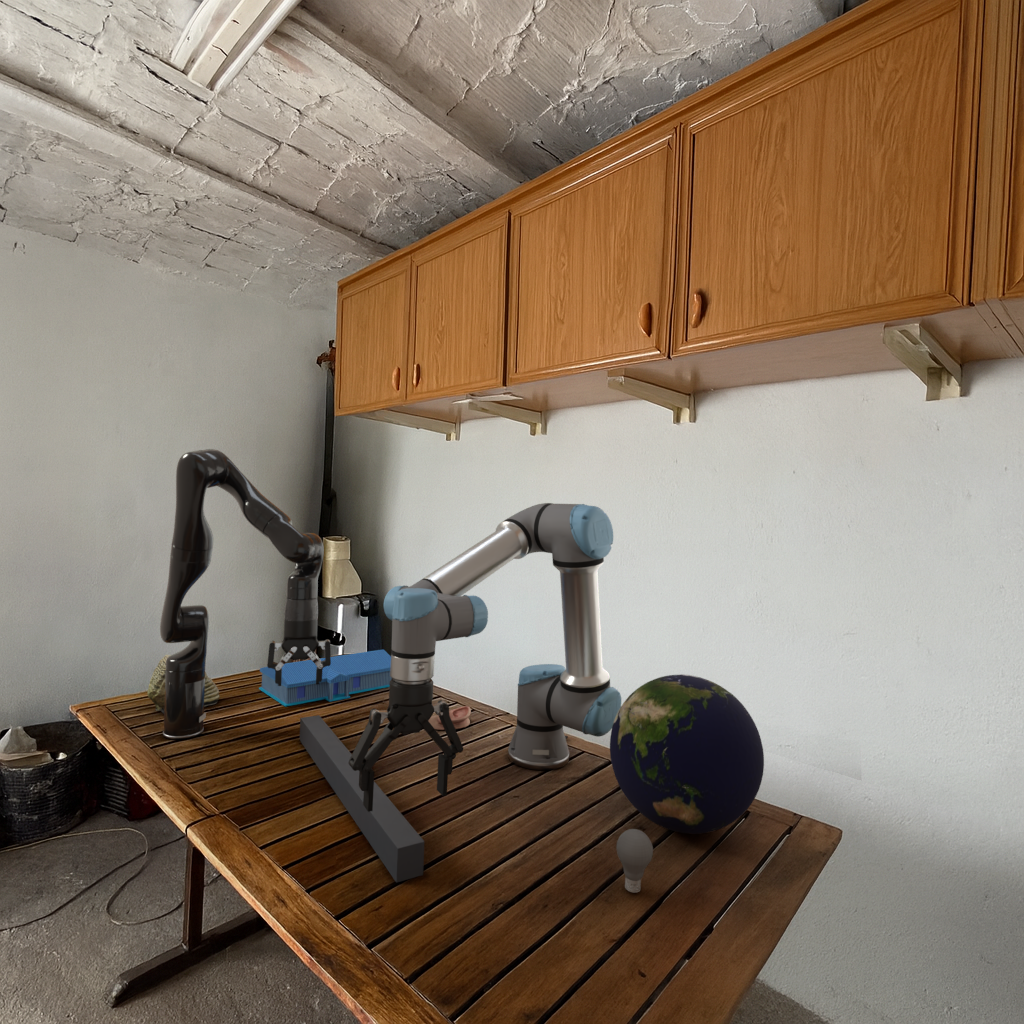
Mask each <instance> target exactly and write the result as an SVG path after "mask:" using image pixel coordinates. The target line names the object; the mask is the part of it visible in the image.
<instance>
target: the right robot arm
mask: <svg viewBox="0 0 1024 1024" xmlns="http://www.w3.org/2000/svg"><path fill="white" fill-rule="evenodd" d="M613 544H614V529H613V525H612V521H611V519H610V517H609V516H608V514H607V513H606V512H605V511H604V509H602V508H600V507H599V506H595V505H587V504H584V503H552V502H542V503H538V504H534V505H532V506H529V507H526V508H524V509H522V510H520V511H518V512H517V513H515V514H512V515H511V516H509V517H507V518H506V519H504V520H503V521H501V522H499V523H498V525H497V526H496V527H495V531H494V532H492V533H491V534H489V535H488V536H486V537H485V538H483V539H482V540H480V541H479V542H477V543H475V544H474V545H473V546H471V547H469V548H467V549H466V550H465V551H463V552H462V553H460V554H458V555H457V556H455V557H454V558H451V560H449V561H447V562H446V563H445V564H443V565H442V566H440V567H438V568H437V569H435V570H434V571H432V572H430V573H429V574H427V575H426V576H424V577H423V578H422V579H420V580H418V581H417V582H415V583H413V584H412V585H410V586H409V585H397V586H394V587H392V588H391V589H390V590H388V592H386V594H385V597H384V600H383V611H384V614H385V616H386V618H387V619H388V620H390V621H392V622H391V649H390V650H391V654H390V656H391V666H390V676H391V677H392V679H391V680H390V687H388V689H389V690H388V707H387V708H386V710H385V709H383V710H379V709H377V708H371V709H370V710H369V716H368V722H367V724H366V725H365V727H364V730H363V732H362V734H361V735H360V738H359V740H358V742H357V744H356V745H355V748H354V750H353V751H352V753H351V754H352V755H351V757H350V759H349V765H350V766H351V768H352V769H353V770H354V771H357V770H359V787H360V789H361V790H362V791H364V798H363V805H364V807H365V808H366V810H367V811H368V812H370V811H373V790H374V782H375V771H374V770H373V767H374V766H375V764H376V763H377V762H378V761H379V759H380V758H381V757H382V755H383V754H384V752H385V751H386V750H387V749H388V747H389V746H390V745H391V743H392V742H393V741H394V740H396V739H397V738H398V736H400V735H402V736H404V735H409V734H411V733H414V734H418V733H419V734H420V733H421V731H422V730H424V731H425V732H426V734H427V735H428V736H429V737H430V738H431V740H432V741H433V742H434V743H435V744H436V745H437V747H438V748H439V750H440V751H442V752H443V753H438V757H437V758H438V759H437V776H436V777H437V779H436V791H437V792H438V793H439V794H440V795H441V796H442V797H446V796H448V779H449V775H450V776H451V775H452V773H453V765H454V764H453V763H454V760H455V759H456V758H457V754H458V753H462V752H463V751H464V746H463V743H462V741H461V739H460V736H459V734H458V732H457V729H455V727H454V725H453V723H452V720H451V718H450V716H449V711H450V704H448V703H446V701H444V700H442V699H440V700H438V701H437V702H436V703H433V699H434V680H433V679H432V678H433V677H434V675H435V673H434V672H435V655H436V645H437V642H440V641H446V640H453V639H461V638H470V637H472V636H475V635H478V634H481V633H482V632H483V631H484V630H485V629H486V628H487V625H488V621H489V611H488V610H489V609H488V607H487V605H486V603H485V601H484V600H483V599H482V598H481V597H480V596H477V595H467V594H466V593H468V592H469V591H470V590H472V589H473V588H475V587H476V586H477V585H479V584H480V583H482V582H483V581H484V580H486V579H488V578H489V577H490V576H491V575H493V574H495V573H496V572H497V571H499V570H500V569H502V568H503V567H504V566H506V565H507V564H508V563H510V562H511V561H513V560H520V559H523V558H525V557H526V556H527V555H529V554H534V553H548V554H551V556H552V557H551V558H552V566H553V567H554V568H555V569H556V570H558V571H559V578H560V579H559V580H560V594H561V610H562V627H563V642H564V644H563V645H564V656H565V658H564V659H565V665H562V664H557V663H556V664H555V663H542V664H541V663H539V664H532V665H528V666H525V667H523V668H522V669H521V670H520V671H519V674H518V683H517V702H516V703H517V707H516V726H515V729H514V731H513V734H512V737H511V740H510V743H509V745H508V750H507V758H508V760H509V761H510V762H511V763H512V764H514V765H516V766H518V767H521V768H525V769H529V770H536V771H549V770H555V769H560V768H562V767H565V766H566V765H567V764H568V763H569V761H570V750H569V746H568V743H567V739H569V737H568V735H565V732H564V727H566V728H568V729H571V730H575V731H577V732H580V733H582V734H584V735H590V736H593V737H599V738H600V737H603V736H605V735H607V734H608V733H609V732H610V731H612V726H613V722H614V720H615V717H616V715H617V713H618V711H619V709H620V707H621V706H622V694H621V692H620V691H619V690H618V689H617V688H616V687H614V686H611V676H610V673H609V671H607V670H606V669H605V668H604V666H603V665H604V663H603V649H602V647H603V646H602V629H601V610H600V592H599V591H600V590H599V589H600V588H599V573H598V572H599V571H598V570H599V569H600V567H602V566H603V565H604V563H605V560H604V558H606V557H607V556H608V555H609V554H610V552H611V551H612V545H613ZM434 713H435V714H436V715H438V716H439V718H440V720H441V723H442V725H443V727H444V729H445V730H444V731H445V735H446V736H447V738H448V740H449V743H450V744H448V743H447V742H446V741H445V739H444V738H443V737H442V736H441V735H440V733H438V731H437V729H434V727H433V726H432V725H431V724H430V722H429V719H430V718H431V717H432V716H434ZM386 719H387V720H388V723H386V725H385V726H384V728H383V731H382V732H381V733H380V735H379V736H378V738H377V739H376V740H375V738H376V736H377V734H378V731H379V729H380V727H381V725H382V724H383V723H384V721H385V720H386ZM374 740H375V741H374ZM373 741H374V743H373Z"/></svg>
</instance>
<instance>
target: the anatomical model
mask: <svg viewBox="0 0 1024 1024" xmlns="http://www.w3.org/2000/svg"><path fill="white" fill-rule="evenodd" d="M471 713H472V710H471V707H470V706H468V705H465V706H461V707H460V706H459V707H457V708H453V709H449V716H450V718H451V720H452V723H453V725H454V727H455V730H457V729H462V728H466V727H468V726H469V725H470V724H471V721H470V717H471ZM429 722H430V724H431V725H432V726H433V727H434V729H435V730H436V731H437V730H439V731H445V729H444V727H443V725H442V723H441V720H440V718H439V716H438V715H437V714H436V715H432V716H431V718H430V719H429Z"/></svg>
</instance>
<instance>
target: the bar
mask: <svg viewBox="0 0 1024 1024" xmlns="http://www.w3.org/2000/svg"><path fill="white" fill-rule="evenodd" d="M299 741H300V743H301V745H302V746H303V747H304V749H305V750H306V752H307V753H308V755H309V756H310V758H311V759H312V760H313V762H314V764H315V765H316V767H317V768H318V769H319V771H320V772H321V774H322V775H323V778H325V780H326V781H327V783H328V784H329V786H330V787H331V788H332V791H334V793H335V795H336V796H337V797H338V799H339V801H340V803H342V805H343V807H344V808H345V809H346V812H348V814H349V815H350V817H351V818H352V819H353V821H354V823H355V824H356V826H357V827H358V828H359V830H360V831H361V833H362V834H363V836H364V837H365V839H366V840H367V842H368V843H369V844H370V846H371V848H372V849H373V850H374V852H375V853H376V855H377V856H378V858H379V859H380V861H381V863H382V864H383V865H384V867H385V868H386V870H387V871H388V872H389V874H390V876H391V877H392V879H393V880H394V881H395V883H400V882H404V881H407V880H411V879H414V878H418V877H421V876H423V875H424V863H425V862H424V861H425V840H424V839H423V838H422V837H421V836H420V834H419V833H418V831H416V829H415V828H414V827H413V826H412V825H411V823H410V822H409V821H408V819H406V817H405V816H404V815H403V814H402V813H401V811H400V810H399V809H398V808H397V806H396V805H395V804H394V803H393V802H392V801H391V800H390V798H389V797H388V796H387V795H386V793H385V792H384V791H383V790H382V789H381V787H380V786H379V785H378V784H377V782H376V781H374V790H373V811H370V812H368V811H367V810H366V808H365V807H364V805H363V798H364V791H362V790H361V789H360V787H359V770H357V771H354V770H353V769H352V768H351V766H350V765H349V759H350V757H351V755H352V753H351V751H349V749H348V748H347V747H346V746H345V744H344V742H342V741H341V740H340V739H339V737H338V736H337V735H336V734H335V732H334V731H333V730H332V728H330V726H329V725H328V723H326V722H325V720H324V719H323V718H322V717H321V715H320V714H318V715H311V716H304V717H300V719H299Z"/></svg>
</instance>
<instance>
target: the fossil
mask: <svg viewBox="0 0 1024 1024" xmlns="http://www.w3.org/2000/svg"><path fill="white" fill-rule="evenodd" d="M171 655H172V654H165V655H164V656H163V657H162V658H161V659H160V660H159V662H158V663H157V666H156V667H155V669H154V670H153V672H152V675H151V677H150V680H149V684H148V688H147V697H148V699H149V700H150V701H152V703H153V704H154V706H155V711H158V712H159V711H160V712H161V709H162V708H163V709H164V705H165V674H166V660H167V658H168V657H169V656H171ZM220 698H221V696H220V690H219V688H218V686H217V685H216V683H215V682H214V681H213V679H212V678H211V677H209V675H208V674H207V672H206V671H205V693H204V707H207V706H213V705H215V704H217V703H218V701H219V699H220Z"/></svg>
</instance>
